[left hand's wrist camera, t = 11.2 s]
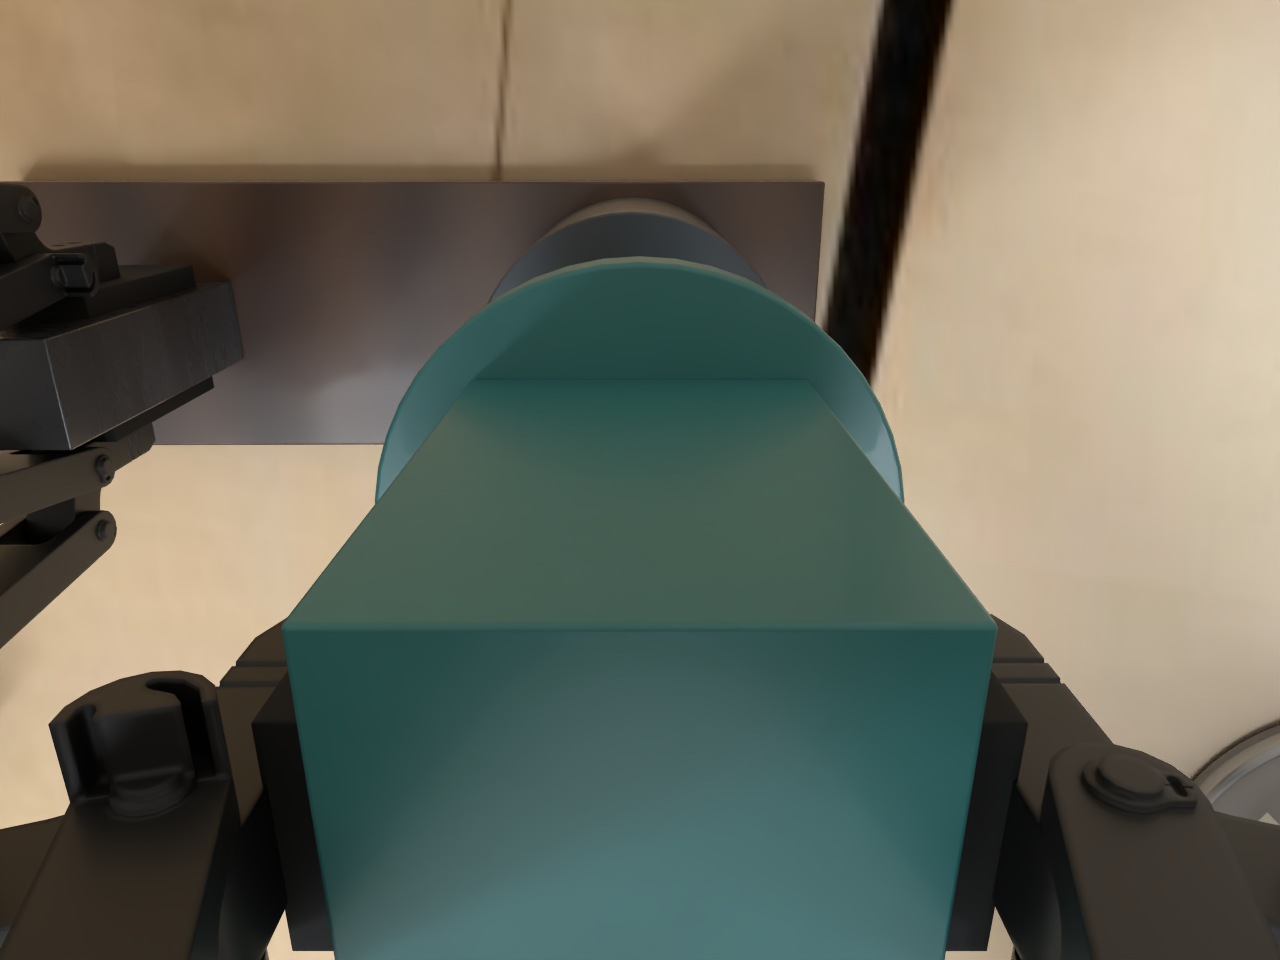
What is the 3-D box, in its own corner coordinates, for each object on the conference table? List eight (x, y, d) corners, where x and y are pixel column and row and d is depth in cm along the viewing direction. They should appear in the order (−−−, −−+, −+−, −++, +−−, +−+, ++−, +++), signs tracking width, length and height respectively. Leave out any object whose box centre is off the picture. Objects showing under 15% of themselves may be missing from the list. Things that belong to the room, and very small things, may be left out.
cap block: (916, 255, 14) (1309, 386, 6) (866, 721, 18) (1077, 1240, 9) (362, 255, 14) (-31, 386, 6) (413, 722, 18) (201, 1241, 9)
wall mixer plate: (816, 180, 33) (919, 195, 21) (799, 432, 36) (879, 565, 25) (20, 180, 32) (-325, 195, 21) (80, 434, 36) (-185, 569, 24)
